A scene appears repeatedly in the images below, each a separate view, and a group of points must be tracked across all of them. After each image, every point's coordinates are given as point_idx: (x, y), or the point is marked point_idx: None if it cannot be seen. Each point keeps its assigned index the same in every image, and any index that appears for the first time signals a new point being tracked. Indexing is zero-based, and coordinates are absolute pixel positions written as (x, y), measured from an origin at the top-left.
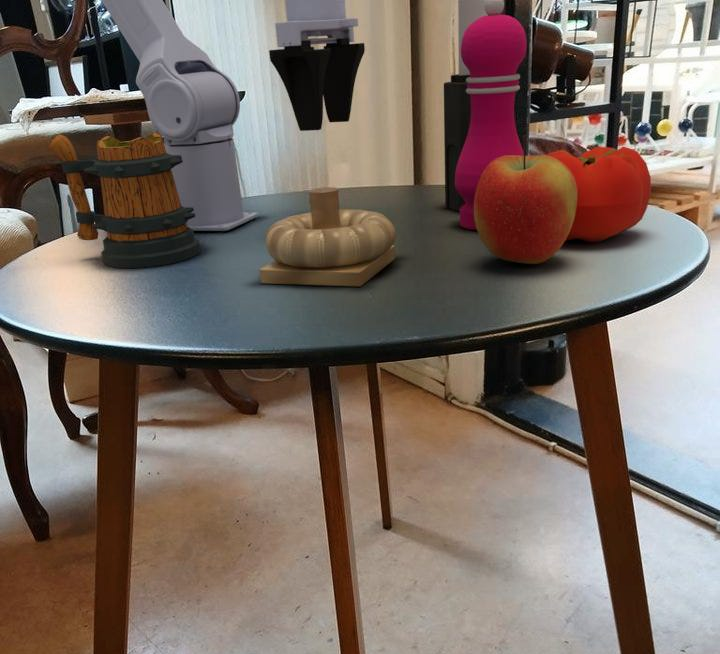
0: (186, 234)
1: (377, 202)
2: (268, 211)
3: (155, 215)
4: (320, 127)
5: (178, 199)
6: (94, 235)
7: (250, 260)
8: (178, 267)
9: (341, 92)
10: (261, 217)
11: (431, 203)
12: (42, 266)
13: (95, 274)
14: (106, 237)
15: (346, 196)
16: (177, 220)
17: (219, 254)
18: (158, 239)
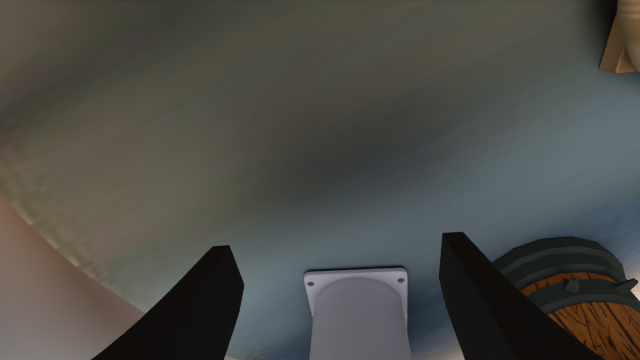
0: (572, 265)
1: (133, 152)
2: (258, 278)
3: (632, 308)
4: (451, 235)
5: (574, 317)
6: None
7: (600, 150)
8: (622, 226)
9: (198, 327)
10: (299, 269)
11: (89, 33)
12: None
13: (636, 294)
14: None
15: (116, 224)
16: (600, 285)
17: (546, 213)
18: (615, 279)
